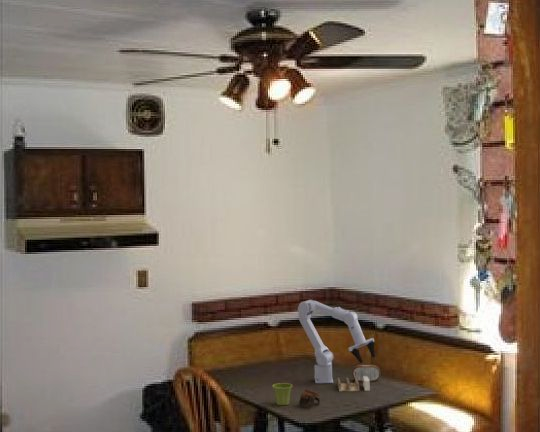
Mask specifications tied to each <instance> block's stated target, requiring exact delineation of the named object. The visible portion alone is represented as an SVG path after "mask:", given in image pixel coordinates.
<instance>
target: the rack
mask: <svg viewBox="0 0 540 432" xmlns="http://www.w3.org/2000/svg"><path fill="white" fill-rule="evenodd" d="M349 379H350V378H349V377H348V376H347V377H346V383H345V382H341V379H340V377H337V387H338V390H339V392H360V383H359V382H360V381H358V379H357V377H355V379H354V380H355V382H350V380H349Z"/></svg>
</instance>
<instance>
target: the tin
mask: <svg viewBox="0 0 540 432" xmlns="http://www.w3.org/2000/svg"><path fill="white" fill-rule="evenodd" d="M351 374H352V377H353V379H354V380H355V377H357V379H358V382H363V376H368V378H369V381H370V382H376V381H378V380H379V379H380V377H381V369H380V367H379V366H377V365H375V364H356V365H355V366H353V367H352V370H351Z"/></svg>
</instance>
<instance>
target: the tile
mask: <svg viewBox="0 0 540 432" xmlns="http://www.w3.org/2000/svg"><path fill="white" fill-rule="evenodd" d="M370 385H371V381H369V378H368V376H363V381H362V388H363V390H364V392H365V391H366V392H367V391H368V392H370V391H371V386H370Z"/></svg>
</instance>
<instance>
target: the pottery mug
mask: <svg viewBox="0 0 540 432" xmlns="http://www.w3.org/2000/svg"><path fill="white" fill-rule="evenodd" d="M315 401H317V406H319V405H320V402H321V401H320V394H319V393H318V392H315V391H312V390H309V389H305V390H304V391H303V392H302V393H300V399H299V401H298V406H299V407H301V408H304V409H307V406H308V407H313V405H314V403H315Z"/></svg>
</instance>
